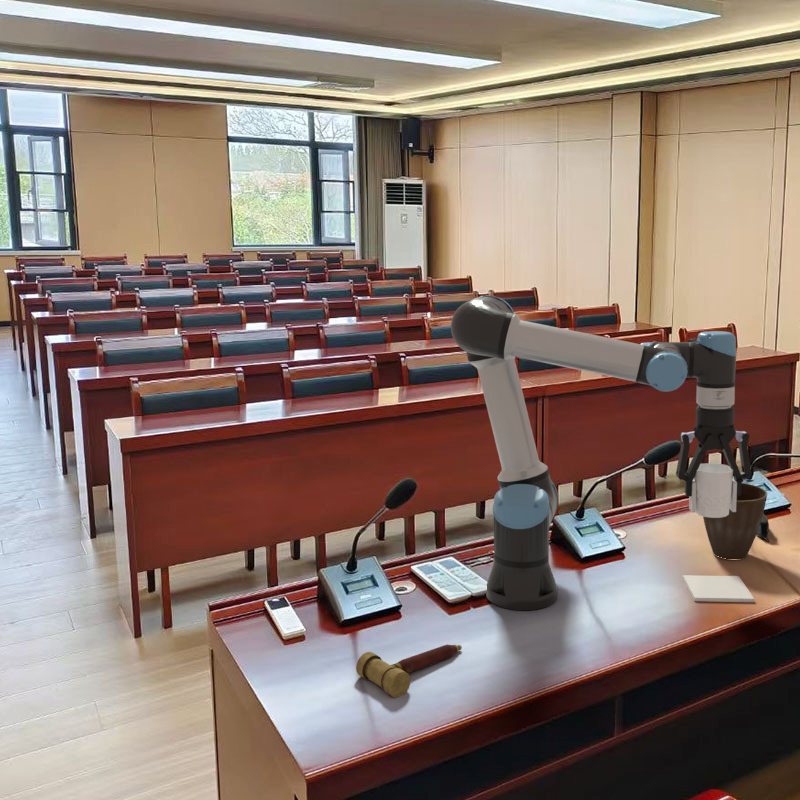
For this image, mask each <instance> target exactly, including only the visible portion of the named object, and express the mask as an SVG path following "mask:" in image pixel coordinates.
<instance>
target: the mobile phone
mask: <svg viewBox="0 0 800 800" xmlns="http://www.w3.org/2000/svg"><path fill="white" fill-rule="evenodd" d="M764 513H765V512H763V516H762V519H761V523H760V526H759V529H758V531H757V534H756V536H757V537H759V538H763V539H765V540H766V541H767V542H768V543H769V542H770V541H771V539H770V538H769V531H770V524H769V519H768V517H767V515H765V514H764Z"/></svg>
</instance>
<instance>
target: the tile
mask: <svg viewBox="0 0 800 800" xmlns="http://www.w3.org/2000/svg"><path fill="white" fill-rule="evenodd" d="M682 580H683V582H684V585H686V588H687V589H688V591H689V593H690V595H691V597H692V599H693V601H694V602H714V603H715V602H719V603H720V602H722V603H723V602H724V603H755V598H754V596H753V594H752V593H751V592H750V590H749V589H748V587H747V586H746V584H745V583H744V582H743V580H742V579H741V577H740V576H739V575H688V574H687V575H685V574H683V575H682Z"/></svg>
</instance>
